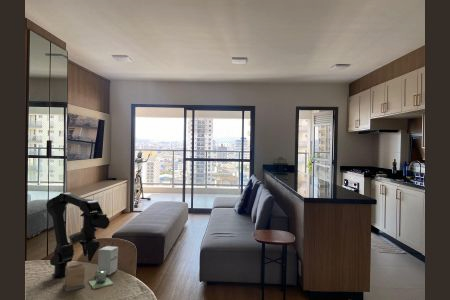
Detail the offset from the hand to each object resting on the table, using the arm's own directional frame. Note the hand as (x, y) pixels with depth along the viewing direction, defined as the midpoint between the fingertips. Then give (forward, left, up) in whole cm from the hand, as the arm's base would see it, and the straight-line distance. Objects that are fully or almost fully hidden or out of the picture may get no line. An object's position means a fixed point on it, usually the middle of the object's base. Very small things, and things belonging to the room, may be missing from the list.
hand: (87, 258), depth 144 cm
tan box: (+3, -6, -11) cm, 13 cm away
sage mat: (+6, +5, -11) cm, 14 cm away
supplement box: (-8, +12, -11) cm, 19 cm away
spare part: (+6, +5, -11) cm, 13 cm away
